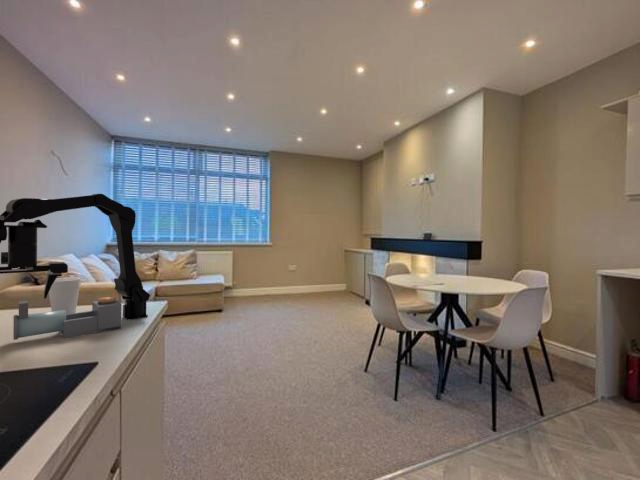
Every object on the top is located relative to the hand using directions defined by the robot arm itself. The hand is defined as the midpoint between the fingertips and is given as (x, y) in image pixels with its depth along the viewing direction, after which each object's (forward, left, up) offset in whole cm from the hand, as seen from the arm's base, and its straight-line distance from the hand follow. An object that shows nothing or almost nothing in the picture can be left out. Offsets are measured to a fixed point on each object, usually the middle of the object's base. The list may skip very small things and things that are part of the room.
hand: (22, 300), depth 83 cm
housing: (-14, 0, -12) cm, 18 cm away
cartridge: (-4, 0, -10) cm, 11 cm away
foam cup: (-11, -27, -12) cm, 32 cm away
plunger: (-19, 0, -6) cm, 20 cm away
